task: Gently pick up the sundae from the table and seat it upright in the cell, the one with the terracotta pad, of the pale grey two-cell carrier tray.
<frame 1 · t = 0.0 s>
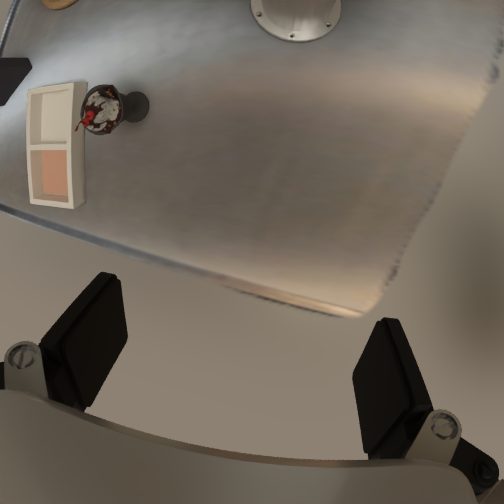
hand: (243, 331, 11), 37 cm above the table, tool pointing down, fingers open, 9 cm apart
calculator: (15, 81, 39), on the table
carrier tray: (61, 143, 44), on the table
sundae: (135, 107, 42), on the table
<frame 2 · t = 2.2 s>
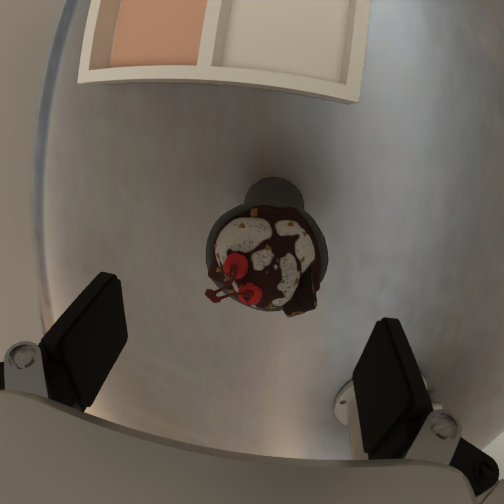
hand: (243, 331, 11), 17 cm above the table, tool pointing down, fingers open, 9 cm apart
carrier tray: (224, 23, 20), on the table
sundae: (273, 205, 26), on the table
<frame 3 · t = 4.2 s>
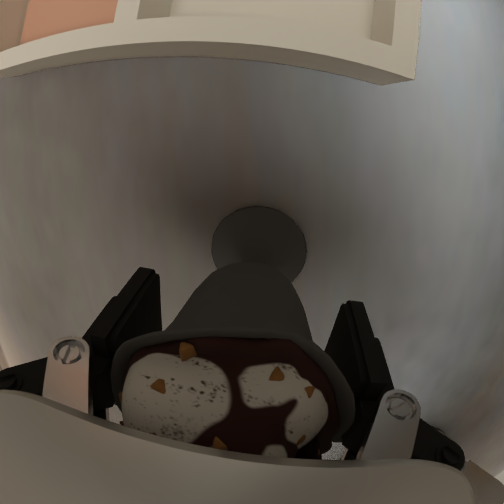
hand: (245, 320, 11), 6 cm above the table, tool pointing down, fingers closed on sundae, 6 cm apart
sundae: (257, 249, 17), on the table, touching gripper
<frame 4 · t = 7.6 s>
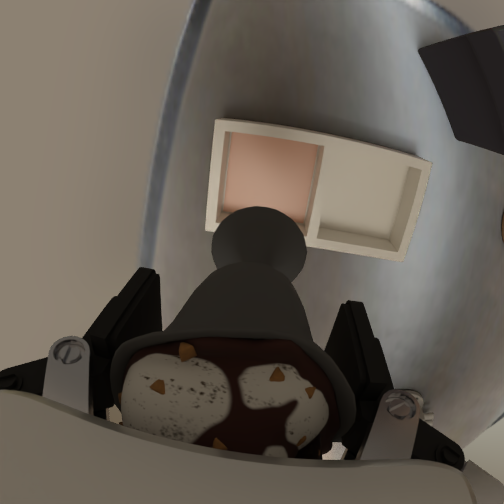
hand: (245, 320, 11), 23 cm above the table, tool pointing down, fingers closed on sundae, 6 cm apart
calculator: (447, 91, 25), on the table
carrier tray: (316, 183, 32), on the table
sundae: (257, 249, 16), point 17 cm above the table, touching gripper
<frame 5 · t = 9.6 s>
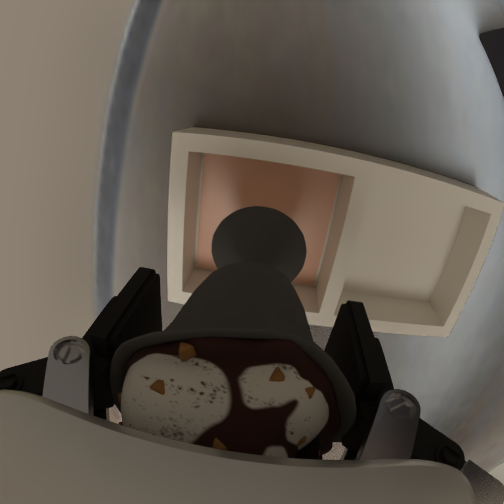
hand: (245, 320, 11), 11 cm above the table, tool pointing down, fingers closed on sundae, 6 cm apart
carrier tray: (335, 227, 21), on the table
sundae: (257, 249, 16), point 6 cm above the table, touching gripper
when the fingers open (8 cm above the table, at t = 11.3 s): sundae drops 1 cm, resting on carrier tray.
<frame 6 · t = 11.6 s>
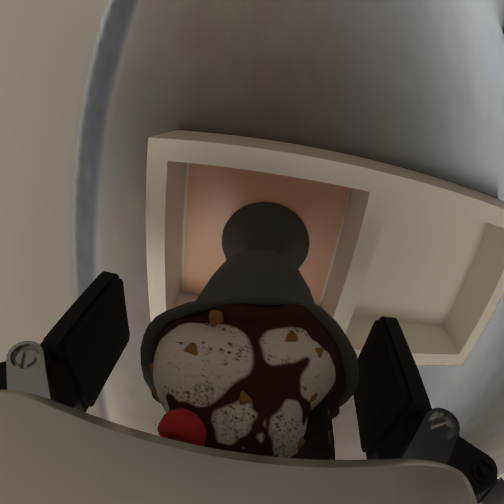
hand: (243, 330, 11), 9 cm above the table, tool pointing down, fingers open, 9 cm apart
carrier tray: (342, 246, 18), on the table
sundae: (264, 242, 18), point 1 cm above the table, touching carrier tray
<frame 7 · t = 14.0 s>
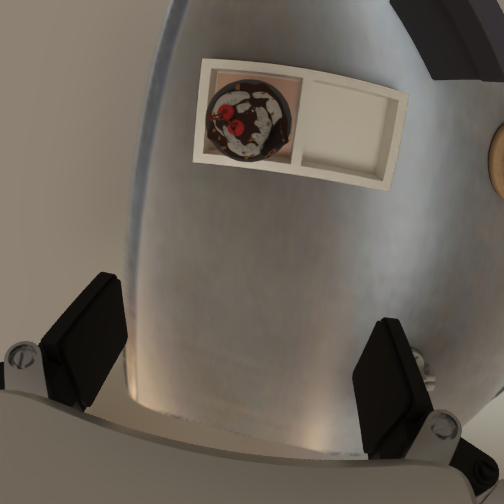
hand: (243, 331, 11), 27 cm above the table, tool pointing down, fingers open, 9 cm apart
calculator: (420, 36, 25), on the table
carrier tray: (299, 119, 32), on the table
sundae: (256, 115, 31), point 1 cm above the table, touching carrier tray
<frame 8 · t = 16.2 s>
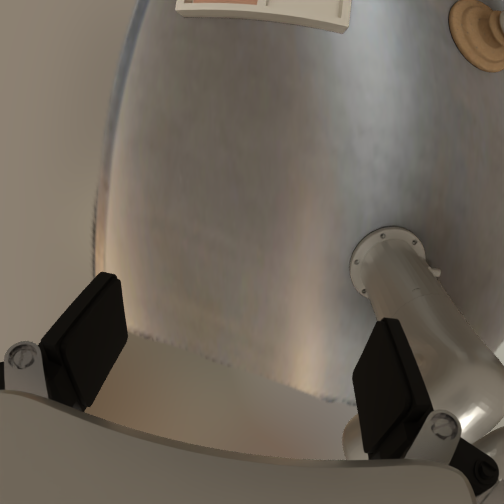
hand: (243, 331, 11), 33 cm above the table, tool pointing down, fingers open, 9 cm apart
candle holder: (479, 35, 27), on the table
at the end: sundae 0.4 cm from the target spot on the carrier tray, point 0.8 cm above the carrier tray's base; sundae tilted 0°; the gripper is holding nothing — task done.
